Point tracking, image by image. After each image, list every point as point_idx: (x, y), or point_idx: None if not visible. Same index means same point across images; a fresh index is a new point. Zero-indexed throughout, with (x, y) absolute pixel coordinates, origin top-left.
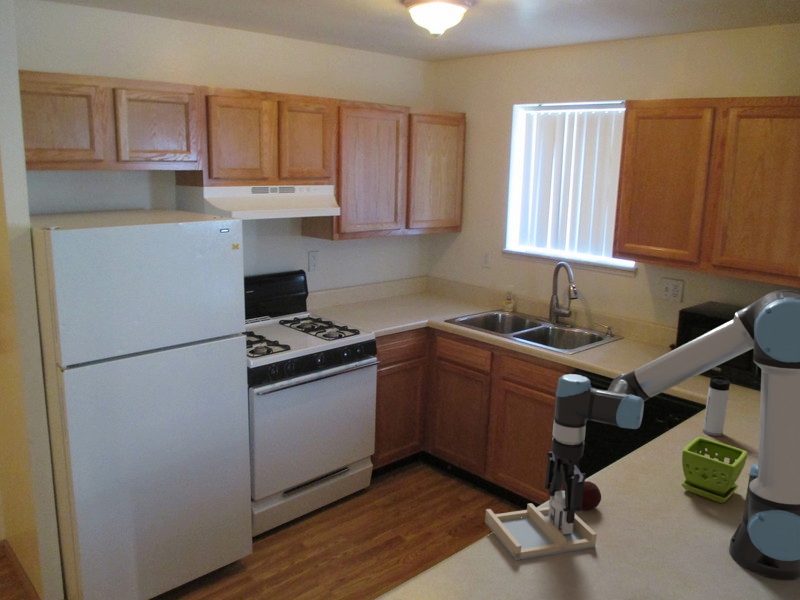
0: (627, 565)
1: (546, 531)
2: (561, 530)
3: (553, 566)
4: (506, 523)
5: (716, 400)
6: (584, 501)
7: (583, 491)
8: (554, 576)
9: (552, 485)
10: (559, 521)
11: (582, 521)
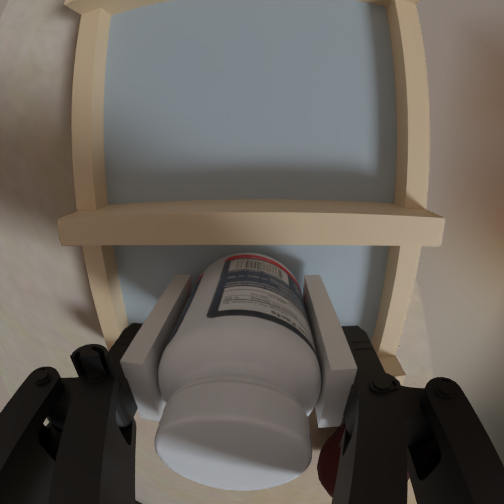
0: (52, 364)
1: (210, 203)
2: (184, 280)
3: (38, 138)
4: (362, 54)
5: None
6: (339, 452)
7: None
8: (7, 124)
9: (373, 463)
10: (191, 296)
11: None
